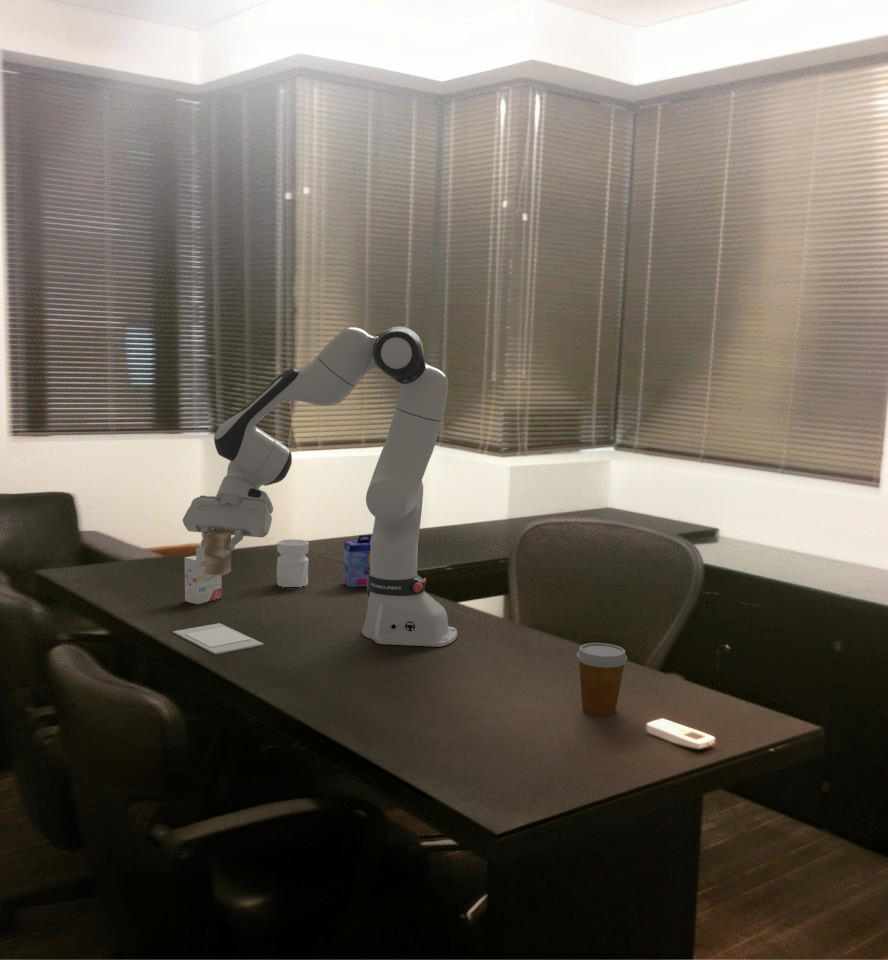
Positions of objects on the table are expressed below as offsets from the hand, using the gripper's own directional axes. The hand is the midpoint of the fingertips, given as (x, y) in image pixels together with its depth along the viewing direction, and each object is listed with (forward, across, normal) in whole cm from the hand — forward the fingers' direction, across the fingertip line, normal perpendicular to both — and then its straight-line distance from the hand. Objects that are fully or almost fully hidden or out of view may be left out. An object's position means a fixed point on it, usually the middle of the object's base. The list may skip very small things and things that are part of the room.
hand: (216, 547), depth 229 cm
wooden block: (+4, 0, +5) cm, 6 cm away
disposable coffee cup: (+27, +88, +4) cm, 92 cm away
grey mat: (+15, 0, +16) cm, 21 cm away
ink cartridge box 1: (-6, -19, +37) cm, 42 cm away
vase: (-23, -4, +54) cm, 59 cm away
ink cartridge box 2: (-28, +14, +59) cm, 67 cm away
